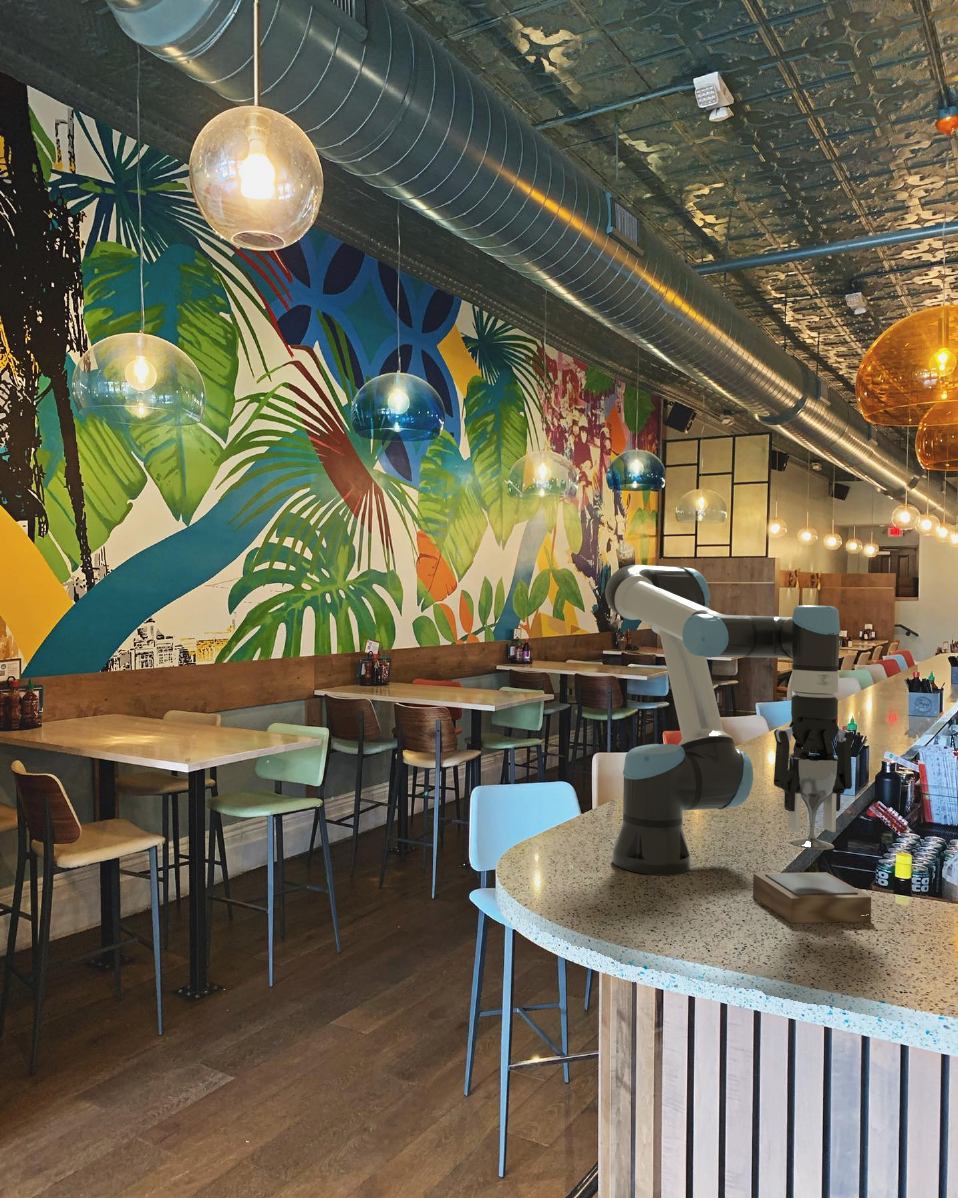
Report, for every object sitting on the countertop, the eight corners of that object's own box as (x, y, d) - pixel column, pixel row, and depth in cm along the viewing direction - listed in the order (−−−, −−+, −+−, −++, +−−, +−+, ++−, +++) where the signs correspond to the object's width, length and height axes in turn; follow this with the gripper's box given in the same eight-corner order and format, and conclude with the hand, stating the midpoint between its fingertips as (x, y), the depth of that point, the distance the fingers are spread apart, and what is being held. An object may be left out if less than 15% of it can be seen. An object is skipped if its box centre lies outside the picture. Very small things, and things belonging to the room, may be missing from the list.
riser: (790, 923, 145) (791, 896, 145) (752, 895, 159) (753, 871, 159) (870, 921, 147) (871, 895, 147) (826, 894, 161) (826, 870, 161)
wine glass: (824, 839, 157) (826, 753, 157) (844, 850, 149) (846, 761, 149) (780, 838, 157) (781, 752, 157) (797, 850, 149) (799, 760, 149)
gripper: (773, 696, 149) (770, 835, 148) (877, 697, 151) (875, 835, 151) (753, 692, 156) (750, 825, 155) (853, 694, 159) (850, 824, 158)
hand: (811, 829), depth 153 cm, fingers closed on wine glass, 6 cm apart
